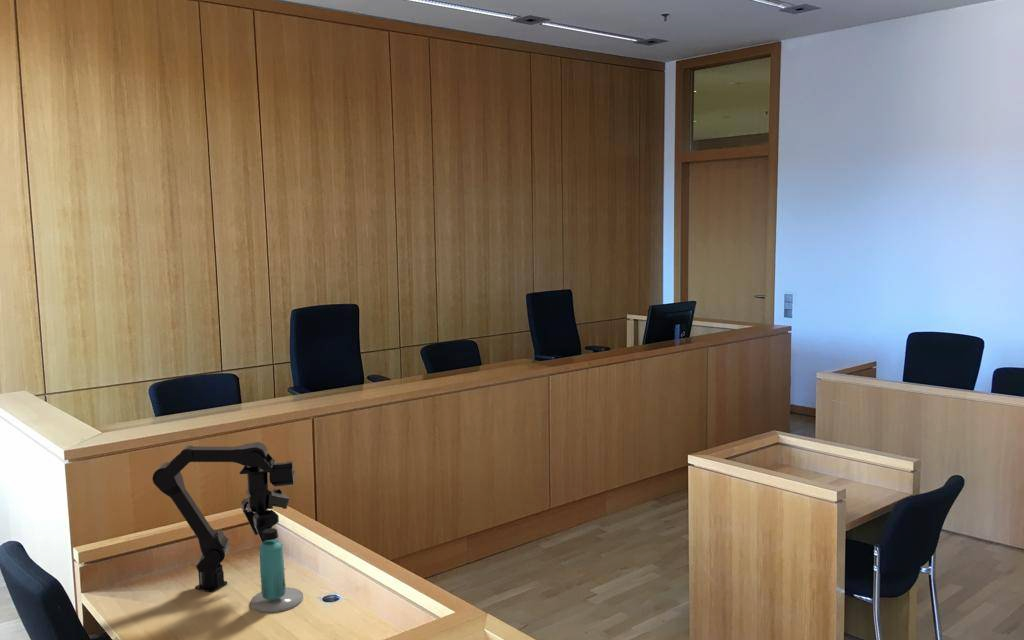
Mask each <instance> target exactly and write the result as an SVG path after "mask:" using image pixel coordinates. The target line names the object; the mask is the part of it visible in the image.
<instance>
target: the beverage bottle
mask: <svg viewBox="0 0 1024 640" xmlns="http://www.w3.org/2000/svg"><path fill="white" fill-rule="evenodd" d="M278 537H279V534H278V529H277V528H273V527H272V528H269V529H265V530H264V531H263V534H262V539H263V540H266V541H264V542H263V543H262V542H261V543H260V545H259V546H258V549H259V551H258V553H259V569H260V570H259V573H260V592H262V596H263V598H265V599H269V600H271V599H278V598H280V597H282V596H284V595H285V588H286V587H287V586H286V575H285V571H286V570H285V564H284V562H285V561H284V549H283V545H284V544H283V543H282V542H281V541H280V540H278Z"/></svg>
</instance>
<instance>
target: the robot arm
mask: <svg viewBox="0 0 1024 640" xmlns="http://www.w3.org/2000/svg"><path fill="white" fill-rule="evenodd" d="M190 463H234V464H238V465H241V466H243V467H242V468H241V469H240V471H239V475H246V481H247V482H246V483H247V489H246V490H245V494H246V495H247V498H243V500H242V501H241V502H240V506H241V507H240V508H241V510H242V513H243V515H244V517H245V518H246V520H247V521H248V524H249V526H250V528H251V530H252V531H253V533H254V535H255V536H257V535H258V537H259V539H260V541H261V544H262V543H263V542H264V541H266V540H263V539H262V534H263V531H264V530H265V529H269V528H273V527H274V526H275V525H277V524H278V523H279V521H280V519H279V514H278V513H277V512H275V511H274V510H273V509H274V507H275V508H276V507H277V508H282V509H284V510H286V509H288V506H289V502H290V500H291V498H290V497H289V496H288V495H287V494H285V493H282V489H281V488H276V487H286V486H288V487H289V486H290V487H291V486H295V483H296V471H295V468H294V467H295V466H294V462H293V461H286V462H276V460H275V459H274V458H273V457H272V456H271V454H270V453H269V451H268V448H267V446H266V445H265V444H264V443H262V442H260V441H259V442H257V441H255V442H251V443H250V442H249V443H244V444H241V445H237V446H195V445H194V446H193V445H187V446H185V447H183V449H182V450H181V451H180V453H178V454H177V455H176V456H175V457H174V458H173V459H171V460H170V461H168V462H163V463H162V464H161V465H160V466H159V467H158V468H157V469H156V470H155V471H154V472H153V474H152V478H151V479H152V482H153V484H154V485H155V486H156V488H158V490H159V491H160V492H161V493H162V494H164V495H166V496H168V497H169V498H170V499H171V501H172V502H173V503H174V505H175V506H176V508H177V509H178V511H179V513H180V514H181V515H182V517H183V518H184V519H185V521H186V523H187V524H188V525H189V526H188V527H190V529H191V530H192V532H193V533H194V535H195V536H196V537H197V539H198V543H199V548H200V551H201V557H200V558H199V560H198V561H197V563H196V569H197V571H198V585H196V586H194V589H196V590H199V591H204V592H210V593H213V592H215V591H216V590H218V589H220V588H222V587H224V586H226V585H227V584H228V581H225V575H224V569H223V565H222V564H221V563H222V562H224V559H225V557H226V556H227V554H228V552H229V551H228V550H229V547H230V544H229V540H230V539H229V538H228V537H227V536H225V533H224V530H222V528H221V529H219V530H218V531H217V530H215V529H214V528H213V527H212V526H211V525H210V524H209V521H208V520H207V519H206V517H205V516H204V514H203V513H202V511H201V510H200V508H199V506H198V505H197V503H196V502H195V501H194V499H193V498H192V496H191V494H190V493H189V491H188V490H187V489H186V486H185V481H184V478H183V474H182V473H181V471H182V470H183V469H185V467H186V466H187V465H188V464H190ZM269 484H271V486H273V487H275V488H274V489H273V490H272V491H271V490H270V489H269V488H270V487H269Z"/></svg>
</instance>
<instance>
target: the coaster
mask: <svg viewBox="0 0 1024 640" xmlns="http://www.w3.org/2000/svg"><path fill="white" fill-rule="evenodd" d="M285 587H286V588H285V595H284V596H282V597H280V598H278V599H271V600H269V599H265V598H263V596H262V592H261V591H260V592H259V593H256V594H255V595H253V596H252V598H251V599H250V607H251V609H253V611H256V612H259V613H264V614H265V613H266V614H273V613H281V612H284V611H285V612H286V611H288V610H291V609H293V608H296V607H297V606H299V605H300V604H301V603H302V602H303V600H304V593H303V592H302V591H301V590H300V589H298V588H295V587H290V586H289V587H288V586H285Z"/></svg>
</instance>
